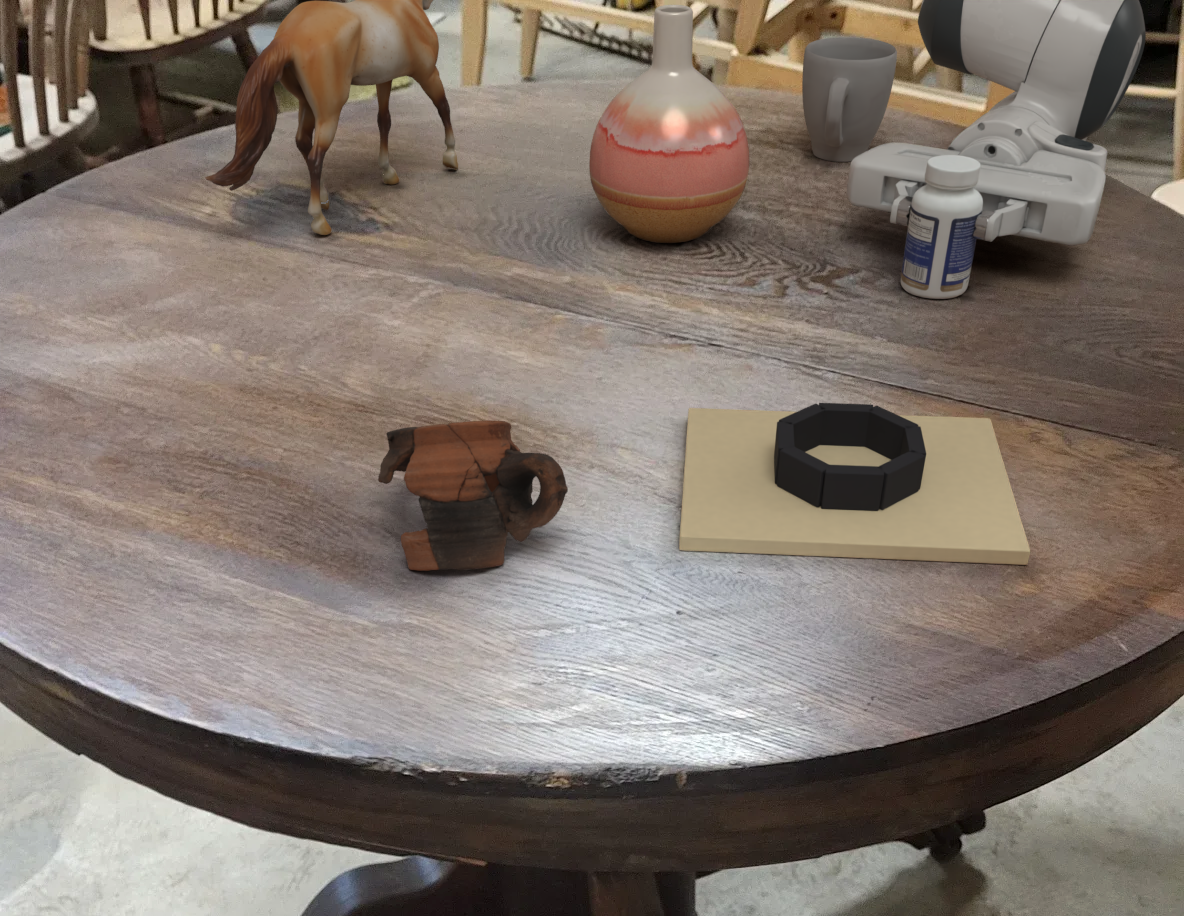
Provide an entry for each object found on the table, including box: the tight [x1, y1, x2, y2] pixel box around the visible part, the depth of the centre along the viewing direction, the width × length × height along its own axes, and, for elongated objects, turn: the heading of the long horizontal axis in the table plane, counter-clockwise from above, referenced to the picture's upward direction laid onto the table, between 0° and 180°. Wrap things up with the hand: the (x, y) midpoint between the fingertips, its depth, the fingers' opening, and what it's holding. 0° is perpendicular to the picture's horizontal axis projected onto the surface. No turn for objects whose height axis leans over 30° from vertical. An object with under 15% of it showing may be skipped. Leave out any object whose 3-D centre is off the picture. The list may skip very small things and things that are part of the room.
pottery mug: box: [377, 419, 569, 572], centre depth 76 cm, size 12×10×8 cm
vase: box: [588, 4, 750, 244], centre depth 109 cm, size 14×14×18 cm
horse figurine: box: [204, 0, 459, 236], centre depth 114 cm, size 31×8×21 cm, turn 147°
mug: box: [801, 36, 898, 163], centre depth 126 cm, size 12×9×10 cm
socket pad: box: [678, 402, 1031, 566], centre depth 80 cm, size 20×16×4 cm
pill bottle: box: [900, 155, 983, 300], centre depth 101 cm, size 5×5×10 cm
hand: (941, 222), depth 100 cm, fingers closed on pill bottle, 5 cm apart
